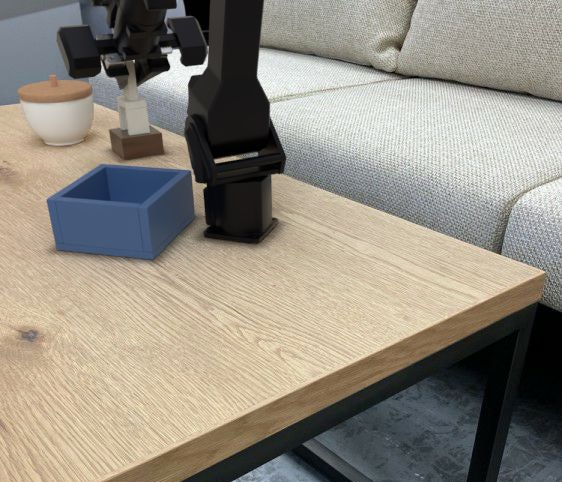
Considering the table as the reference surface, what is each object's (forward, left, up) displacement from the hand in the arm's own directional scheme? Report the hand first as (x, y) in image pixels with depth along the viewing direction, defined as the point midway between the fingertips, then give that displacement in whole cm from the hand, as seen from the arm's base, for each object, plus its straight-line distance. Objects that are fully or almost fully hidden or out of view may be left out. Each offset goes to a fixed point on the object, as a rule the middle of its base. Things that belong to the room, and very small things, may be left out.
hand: (126, 86), depth 99 cm
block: (-1, +1, -9) cm, 9 cm away
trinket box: (+13, -1, -9) cm, 16 cm away
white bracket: (-1, +1, -6) cm, 6 cm away
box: (-16, +28, -9) cm, 34 cm away
